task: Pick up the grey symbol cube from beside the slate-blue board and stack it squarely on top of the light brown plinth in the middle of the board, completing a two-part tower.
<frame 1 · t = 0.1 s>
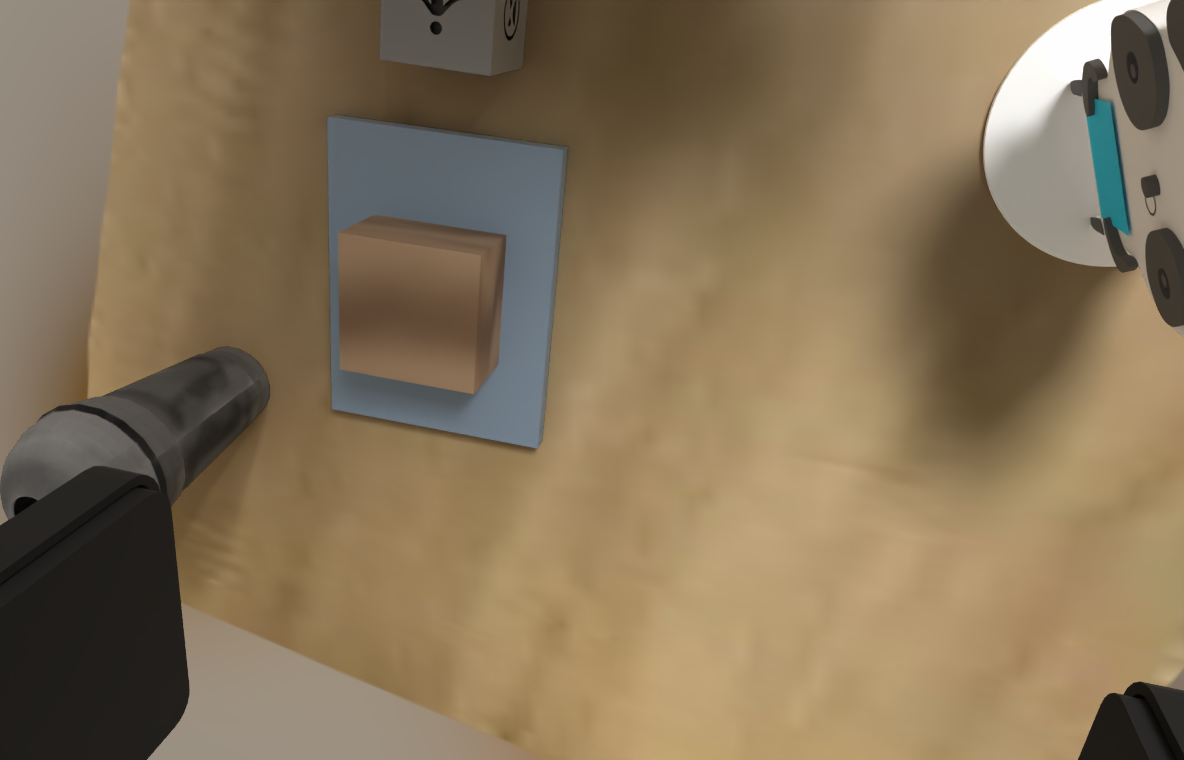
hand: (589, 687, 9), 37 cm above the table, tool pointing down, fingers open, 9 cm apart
light brown plinth: (437, 290, 47), resting on blue board
panda figurine: (1123, 126, 39), on the table
blue board: (444, 285, 48), on the table
beverage cup: (236, 381, 54), on the table
grey symbol cube: (477, 4, 43), on the table
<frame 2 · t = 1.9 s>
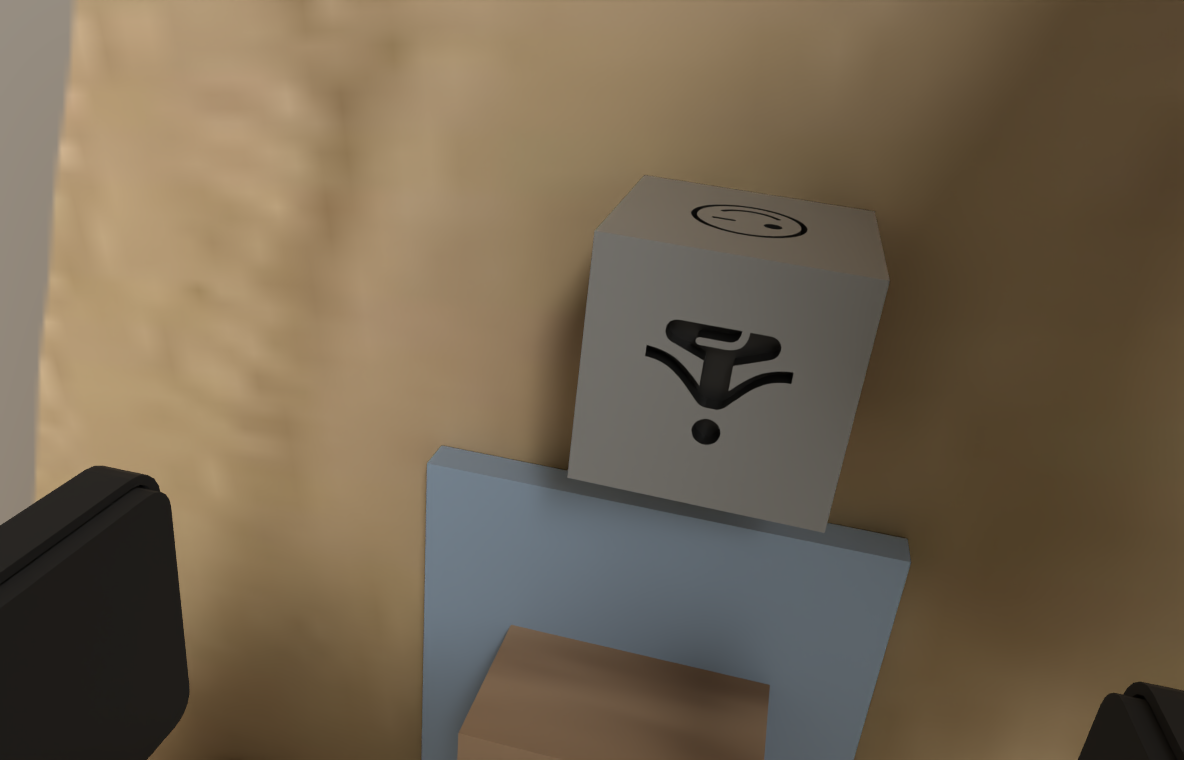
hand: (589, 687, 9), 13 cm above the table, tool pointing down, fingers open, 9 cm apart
light brown plinth: (623, 750, 26), resting on blue board
blue board: (629, 725, 27), on the table
grey symbol cube: (738, 297, 21), on the table
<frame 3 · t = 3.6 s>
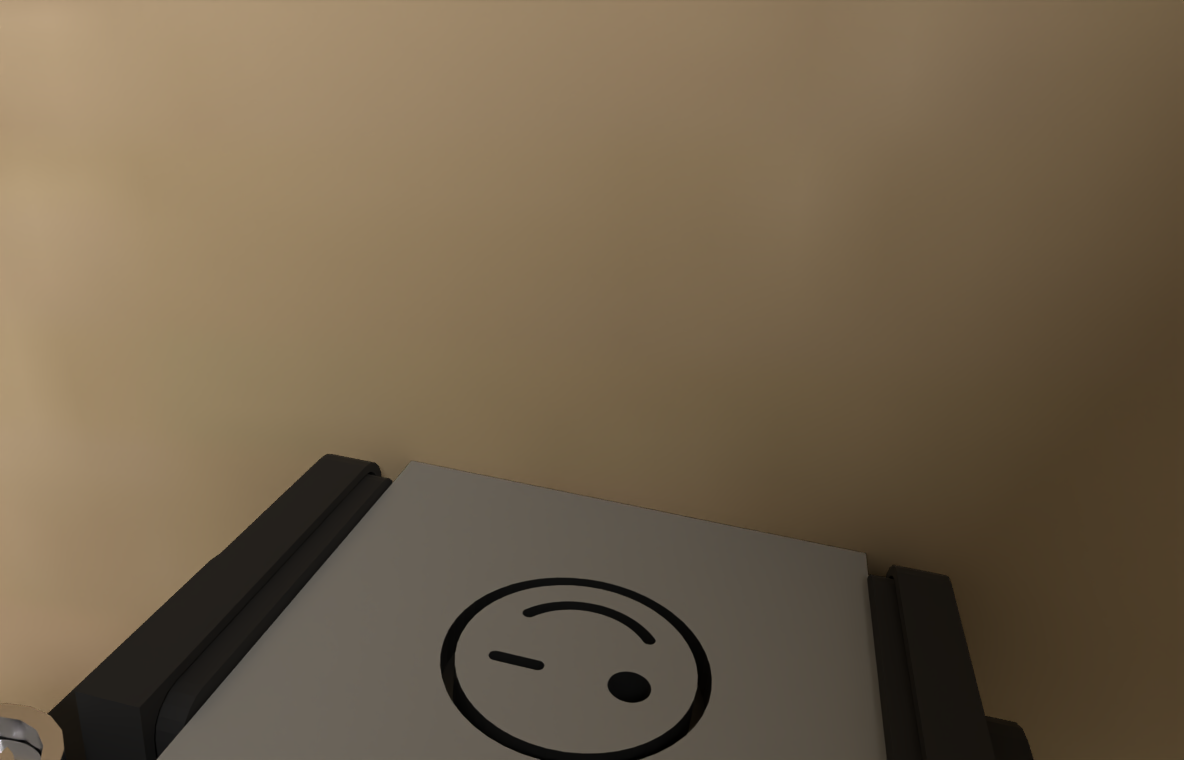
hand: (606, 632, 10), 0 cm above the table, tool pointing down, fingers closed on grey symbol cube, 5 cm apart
grey symbol cube: (607, 673, 11), on the table, touching gripper
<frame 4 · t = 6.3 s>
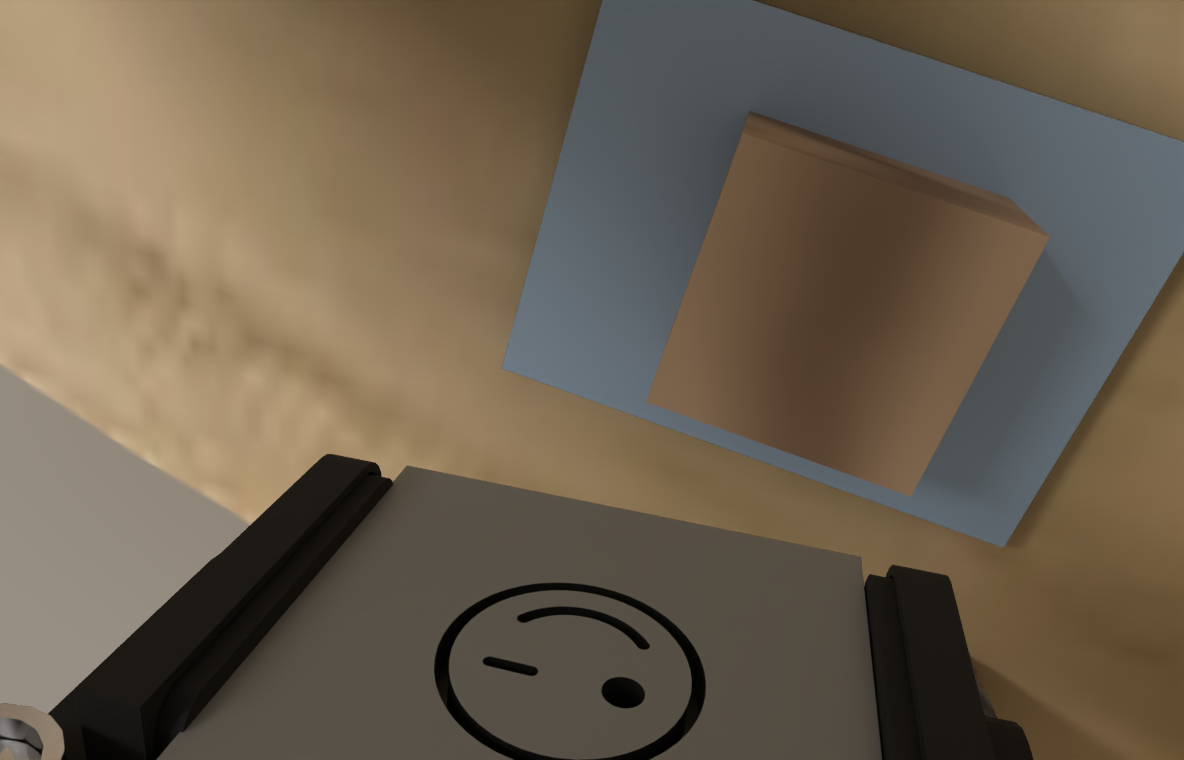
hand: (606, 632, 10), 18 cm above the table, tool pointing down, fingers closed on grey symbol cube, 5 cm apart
light brown plinth: (825, 277, 25), resting on blue board
blue board: (824, 266, 26), on the table
beverage cup: (905, 679, 31), on the table
grey symbol cube: (604, 677, 11), point 17 cm above the table, touching gripper
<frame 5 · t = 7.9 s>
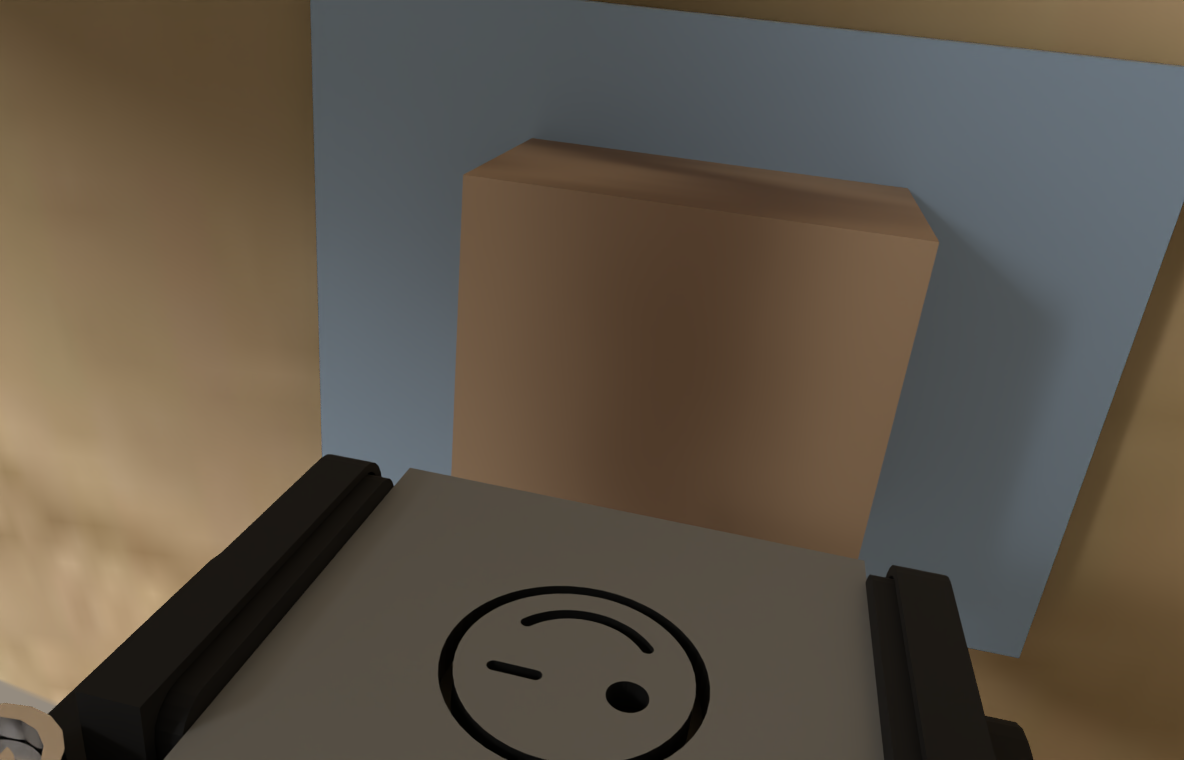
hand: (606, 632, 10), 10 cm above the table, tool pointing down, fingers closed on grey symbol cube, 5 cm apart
light brown plinth: (688, 337, 18), resting on blue board
blue board: (693, 321, 19), on the table
grey symbol cube: (606, 680, 11), point 10 cm above the table, touching gripper
when the fingers open (7 cm above the table, at t = 8.9 s): grey symbol cube drops 1 cm, resting on light brown plinth.
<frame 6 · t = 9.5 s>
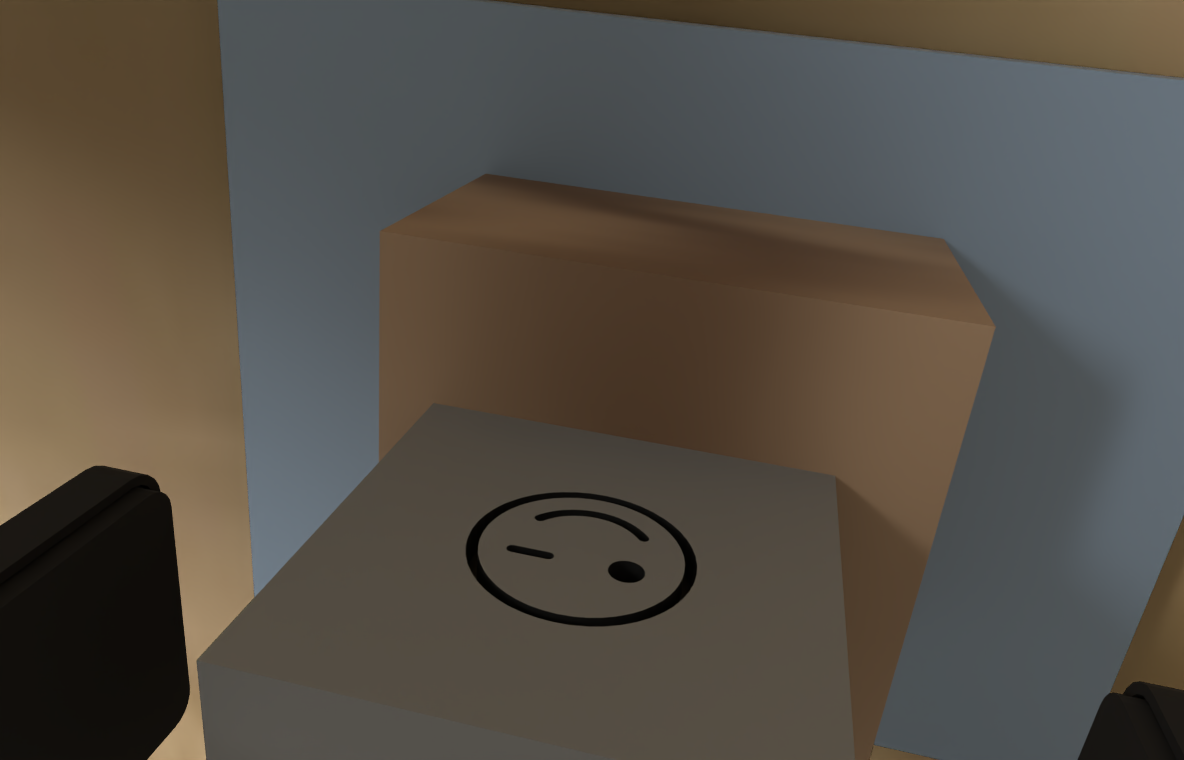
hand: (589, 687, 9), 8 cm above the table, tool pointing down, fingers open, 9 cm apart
light brown plinth: (675, 411, 15), resting on blue board
blue board: (682, 388, 16), on the table
grey symbol cube: (609, 595, 12), point 5 cm above the table, touching light brown plinth
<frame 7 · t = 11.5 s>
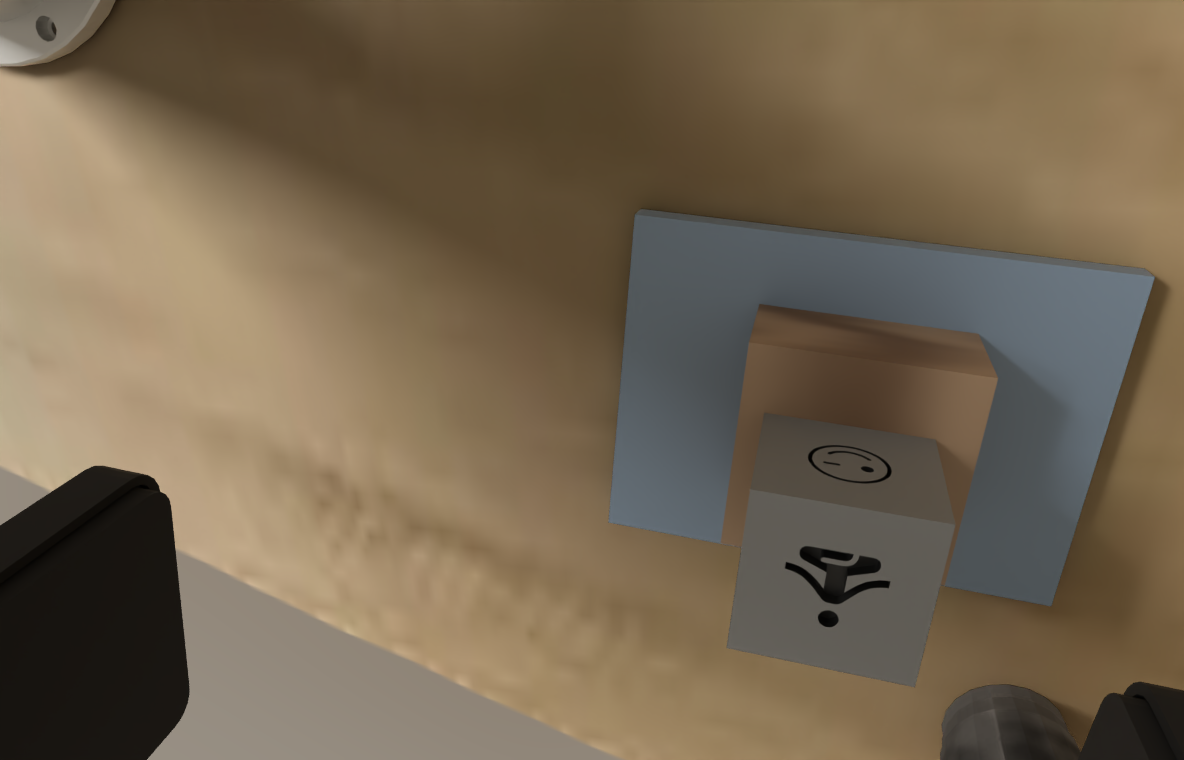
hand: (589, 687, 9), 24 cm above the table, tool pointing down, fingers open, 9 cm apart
light brown plinth: (847, 414, 31), resting on blue board
blue board: (847, 403, 32), on the table
beverage cup: (1002, 728, 36), on the table
grey symbol cube: (834, 495, 28), point 5 cm above the table, touching light brown plinth
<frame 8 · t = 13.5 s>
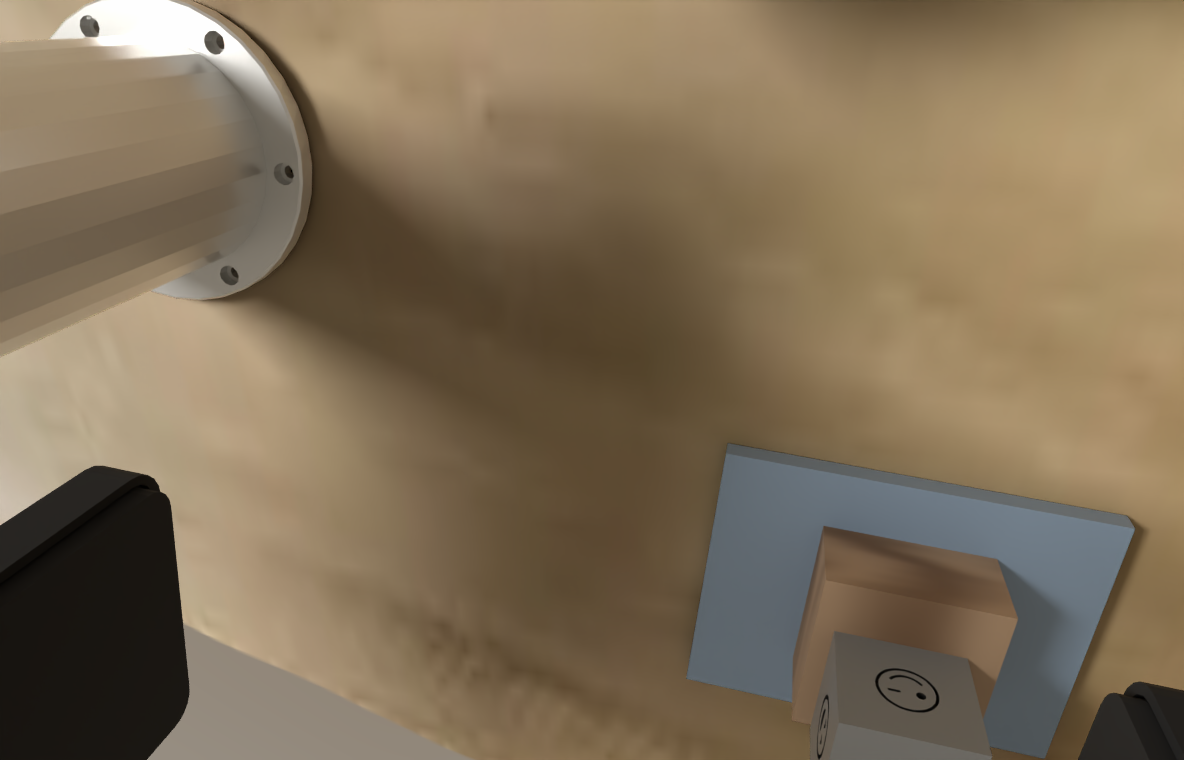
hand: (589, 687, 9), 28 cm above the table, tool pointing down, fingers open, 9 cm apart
light brown plinth: (889, 610, 39), resting on blue board
blue board: (888, 597, 40), on the table
grey symbol cube: (885, 691, 36), point 5 cm above the table, touching light brown plinth
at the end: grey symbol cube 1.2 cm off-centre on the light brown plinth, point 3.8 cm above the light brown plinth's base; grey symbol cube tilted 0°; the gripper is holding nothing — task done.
